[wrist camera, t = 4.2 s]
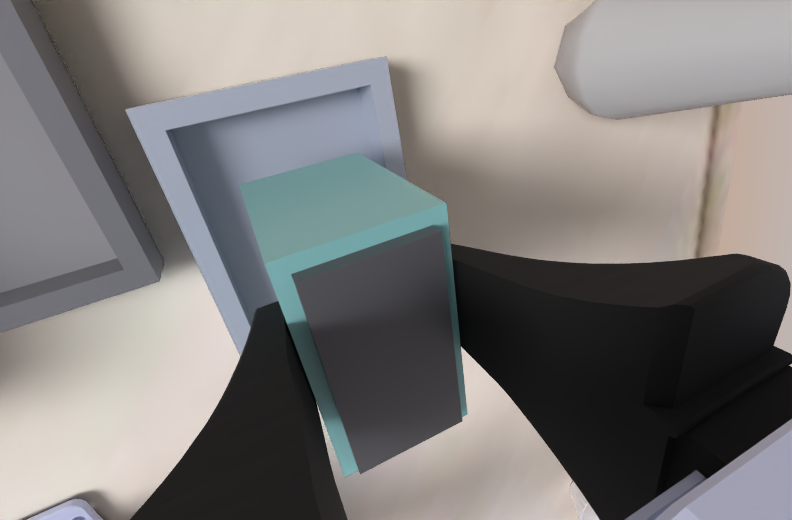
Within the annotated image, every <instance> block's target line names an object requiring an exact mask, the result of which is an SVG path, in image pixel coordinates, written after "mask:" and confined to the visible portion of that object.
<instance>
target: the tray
mask: <svg viewBox="0 0 792 520" xmlns="http://www.w3.org/2000/svg"><path fill="white" fill-rule="evenodd" d="M125 111H126V113H127V115H128V117H129V119H130V121H131V124H132V126H133V128H134V130H135V132H136V134H137V136H138V139H139V141H140V143H141V145H142V147H143V149H144V151H145V154H146V156H147V158H148V160H149V162H150V164H151V166H152V169H153V171H154V173H155V175H156V177H157V179H158V181H159V184H160V186H161V188H162V190H163V192H164V194H165V196H166V198H167V201H168V203H169V205H170V207H171V209H172V211H173V213H174V216H175V218H176V220H177V222H178V224H179V226H180V228H181V231H182V233H183V235H184V237H185V239H186V241H187V243H188V246H189V248H190V250H191V252H192V254H193V256H194V258H195V261H196V263H197V265H198V267H199V269H200V271H201V273H202V276H203V278H204V280H205V282H206V284H207V286H208V288H209V290H210V293H211V295H212V297H213V299H214V301H215V303H216V305H217V308H218V310H219V312H220V314H221V316H222V318H223V320H224V323H225V325H226V327H227V329H228V331H229V333H230V335H231V338H232V340H233V342H234V344H235V346H236V348H237V350H238V353H239V355H240V357H241V354H242V352H243V349H244V346H245V344H246V341H247V338H248V335H249V332H250V328H251V325H252V321H253V316H254V313H255V311H256V309H257V308H260V307H263V306H265V305H268V304H271V303H274V302H276V301H278V299H277V296H276V293H275V291H274V288H273V285H272V283H271V280H270V277H269V275H268V272H267V269H266V267H265V264H264V261H263V258H262V255H261V252H260V249H259V246H258V242H257V239H256V236H255V233H254V230H253V227H252V224H251V221H250V218H249V215H248V211H247V208H246V205H245V202H244V199H243V196H242V193H241V190H240V187H239V184H243V183H246V182H250V181H254V180H257V179H261V178H265V177H268V176H272V175H276V174H279V173H283V172H287V171H290V170H294V169H298V168H301V167H305V166H309V165H312V164H316V163H320V162H323V161H327V160H331V159H335V158H338V157H342V156H346V155H349V154H353V153H357V152H358V153H359V154H361V155H363V156H365V157H366V158H368V159H370V160H372V161H373V162H375V163H377V164H379V165H380V166H382V167H384V168H386V169H388V170H389V171H391V172H393V173H395V174H396V175H398V176H400V177H402V178H403V179H405V180H407V177H406V171H405V165H404V159H403V153H402V147H401V140H400V134H399V128H398V122H397V116H396V110H395V104H394V98H393V92H392V86H391V80H390V74H389V68H388V62H387V56H385V57H379V58H373V59H367V60H362V61H357V62H352V63H347V64H342V65H337V66H332V67H327V68H322V69H317V70H312V71H307V72H302V73H297V74H292V75H287V76H283V77H278V78H273V79H268V80H263V81H258V82H253V83H248V84H243V85H238V86H233V87H228V88H223V89H218V90H213V91H208V92H203V93H199V94H194V95H189V96H184V97H179V98H174V99H169V100H164V101H159V102H154V103H149V104H144V105H139V106H135V107H131V108H128V109H125Z"/></svg>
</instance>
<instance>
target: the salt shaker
mask: <svg viewBox="0 0 792 520" xmlns="http://www.w3.org/2000/svg"><path fill="white" fill-rule="evenodd" d="M554 67H555V70H556V72H557V74H558V76H559V78H560V80H561V83H562V85H563V87H564V89H565V91H566V93H567V95H568V97H569V98H571V99H572V100H573V101H575V102H576V103H577V104H579V105H580V106H581V107H582V108H584V109H585V110H586V111H588V112H589V113H590V114H593V115H596V116H600V117H606V118H611V119H616V120H619V119H626V118H633V117H640V116H647V115H653V114H660V113H667V112H674V111H681V110H688V109H695V108H702V107H708V106H715V105H722V104H729V103H736V102H743V101H749V100H757V99H763V98H770V97H777V96H784V95H790V94H792V0H596V1H594V2H593V3H592V4H591V5H590V6H589V7H588V8H587V9H586V10H585V11H584V12H583V13H582V14H580V15H579V16H578V17H576V18H575V19H574V20H572V21H571V22H570V23H568V24H567V25H566V26H565V28H564V32H563V36H562V40H561V44H560V47H559V51H558V55H557V59H556V62H555V66H554Z"/></svg>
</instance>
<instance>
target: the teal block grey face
mask: <svg viewBox="0 0 792 520" xmlns="http://www.w3.org/2000/svg"><path fill="white" fill-rule="evenodd" d="M239 187H240V190H241V193H242V196H243V199H244V202H245V205H246V208H247V211H248V215H249V218H250V221H251V224H252V227H253V230H254V233H255V236H256V239H257V242H258V246H259V249H260V252H261V255H262V258H263V261H264V264H265V267H266V269H267V272H268V275H269V277H270V280H271V283H272V285H273V288H274V291H275V293H276V296H277V299H278V301H279V304H280V307H281V309H282V312H283V314H284V317H285V320H286V322H287V325H288V328H289V330H290V333H291V336H292V338H293V341H294V344H295V346H296V349H297V352H298V354H299V357H300V360H301V362H302V365H303V367H304V370H305V373H306V375H307V378H308V381H309V383H310V386H311V389H312V391H313V394H314V397H315V399H316V402H317V405H318V407H319V410H320V413H321V415H322V418H323V420H324V423H325V426H326V428H327V431H328V434H329V436H330V439H331V442H332V444H333V447H334V450H335V452H336V455H337V458H338V460H339V463H340V466H341V468H342V471H343V474H344V476H345V477H346V476H348V475H350V474H352V473H354V472H356V471H358V470H359V472H360V474H361V473H363V472H365V471H367V470H369V469H371V468H373V467H375V466H377V465H379V464H381V463H383V462H385V461H387V460H388V459H390V458H392V457H394V456H396V455H398V454H400V453H402V452H404V451H406V450H408V449H410V448H412V447H414V446H415V445H417V444H419V443H421V442H423V441H425V440H427V439H429V438H431V437H433V436H435V435H437V434H439V433H441V432H442V431H444V430H446V429H448V428H450V427H452V426H454V425H456V424H458V423H460V422H462V417H463V416H465V415H467V405H466V395H465V385H464V375H463V365H462V355H461V344H460V334H459V324H458V314H457V304H456V294H455V284H454V273H453V263H452V253H451V243H450V233H449V223H448V212H447V203H446V202H444V201H442V200H440V199H439V198H437V197H435V196H433V195H431V194H430V193H428V192H426V191H424V190H423V189H421V188H419V187H417V186H416V185H414V184H412V183H410V182H409V181H407V180H405V179H403V178H402V177H400V176H398V175H396V174H395V173H393V172H391V171H389V170H388V169H386V168H384V167H382V166H380V165H379V164H377V163H375V162H373V161H372V160H370V159H368V158H366V157H365V156H363V155H361V154H359V153H358V152H357V153H353V154H349V155H346V156H342V157H338V158H335V159H331V160H327V161H323V162H320V163H316V164H312V165H309V166H305V167H301V168H298V169H294V170H290V171H287V172H283V173H279V174H276V175H272V176H268V177H265V178H261V179H257V180H254V181H250V182H246V183H243V184H239Z"/></svg>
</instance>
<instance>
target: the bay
mask: <svg viewBox="0 0 792 520" xmlns="http://www.w3.org/2000/svg"><path fill="white" fill-rule="evenodd" d="M163 265H164V260H163V258H162V256H161V254H160V252H159V250H158V248H157V246H156V244H155V242H154V240H153V239H152V237H151V235H150V233H149V231H148V229H147V227H146V225H145V223H144V221H143V219H142V217H141V215H140V213H139V211H138V209H137V207H136V205H135V203H134V201H133V199H132V197H131V195H130V193H129V191H128V190H127V188H126V186H125V184H124V182H123V180H122V178H121V176H120V174H119V172H118V170H117V168H116V166H115V164H114V162H113V160H112V158H111V156H110V154H109V152H108V150H107V148H106V146H105V144H104V142H103V141H102V139H101V137H100V135H99V133H98V131H97V129H96V127H95V125H94V123H93V121H92V119H91V117H90V115H89V113H88V111H87V109H86V107H85V105H84V103H83V101H82V99H81V97H80V95H79V93H78V92H77V90H76V88H75V86H74V84H73V82H72V80H71V78H70V76H69V74H68V72H67V70H66V68H65V66H64V64H63V62H62V60H61V58H60V56H59V54H58V52H57V50H56V48H55V46H54V44H53V43H52V41H51V39H50V37H49V35H48V33H47V31H46V29H45V27H44V25H43V23H42V21H41V19H40V17H39V15H38V13H37V11H36V9H35V7H34V5H33V3H32V1H31V0H0V333H1V332H4V331H7V330H10V329H13V328H16V327H19V326H22V325H26V324H29V323H32V322H35V321H38V320H41V319H44V318H47V317H50V316H54V315H57V314H60V313H63V312H66V311H69V310H72V309H75V308H78V307H81V306H85V305H88V304H91V303H94V302H97V301H100V300H103V299H106V298H109V297H112V296H116V295H119V294H122V293H125V292H128V291H131V290H134V289H137V288H140V287H143V286H147V285H150V284H153V283H156V282H159V281H160V277H161V273H162V269H163Z"/></svg>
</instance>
